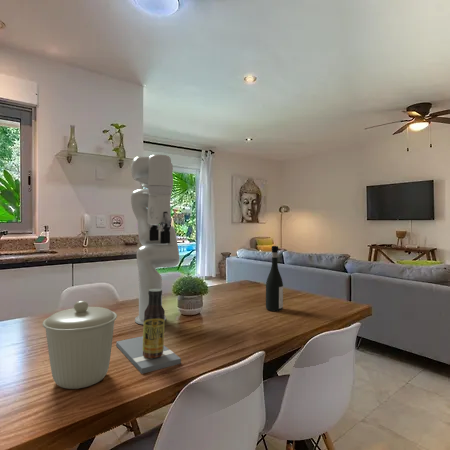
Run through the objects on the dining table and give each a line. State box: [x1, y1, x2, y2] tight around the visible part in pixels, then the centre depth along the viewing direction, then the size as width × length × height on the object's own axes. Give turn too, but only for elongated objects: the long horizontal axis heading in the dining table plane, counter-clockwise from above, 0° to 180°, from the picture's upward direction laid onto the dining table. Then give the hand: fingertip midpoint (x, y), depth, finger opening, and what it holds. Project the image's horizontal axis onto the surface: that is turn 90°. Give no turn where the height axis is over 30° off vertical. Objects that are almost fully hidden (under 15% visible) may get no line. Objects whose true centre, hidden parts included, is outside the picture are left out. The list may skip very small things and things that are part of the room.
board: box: [115, 335, 182, 375], centre depth 106 cm, size 24×12×2 cm, turn 34°
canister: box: [41, 300, 118, 390], centre depth 89 cm, size 18×18×21 cm
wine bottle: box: [265, 245, 284, 312], centre depth 157 cm, size 8×8×30 cm
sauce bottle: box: [142, 289, 166, 358], centre depth 101 cm, size 6×6×20 cm
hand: (159, 241), depth 115 cm, fingers open, 9 cm apart
